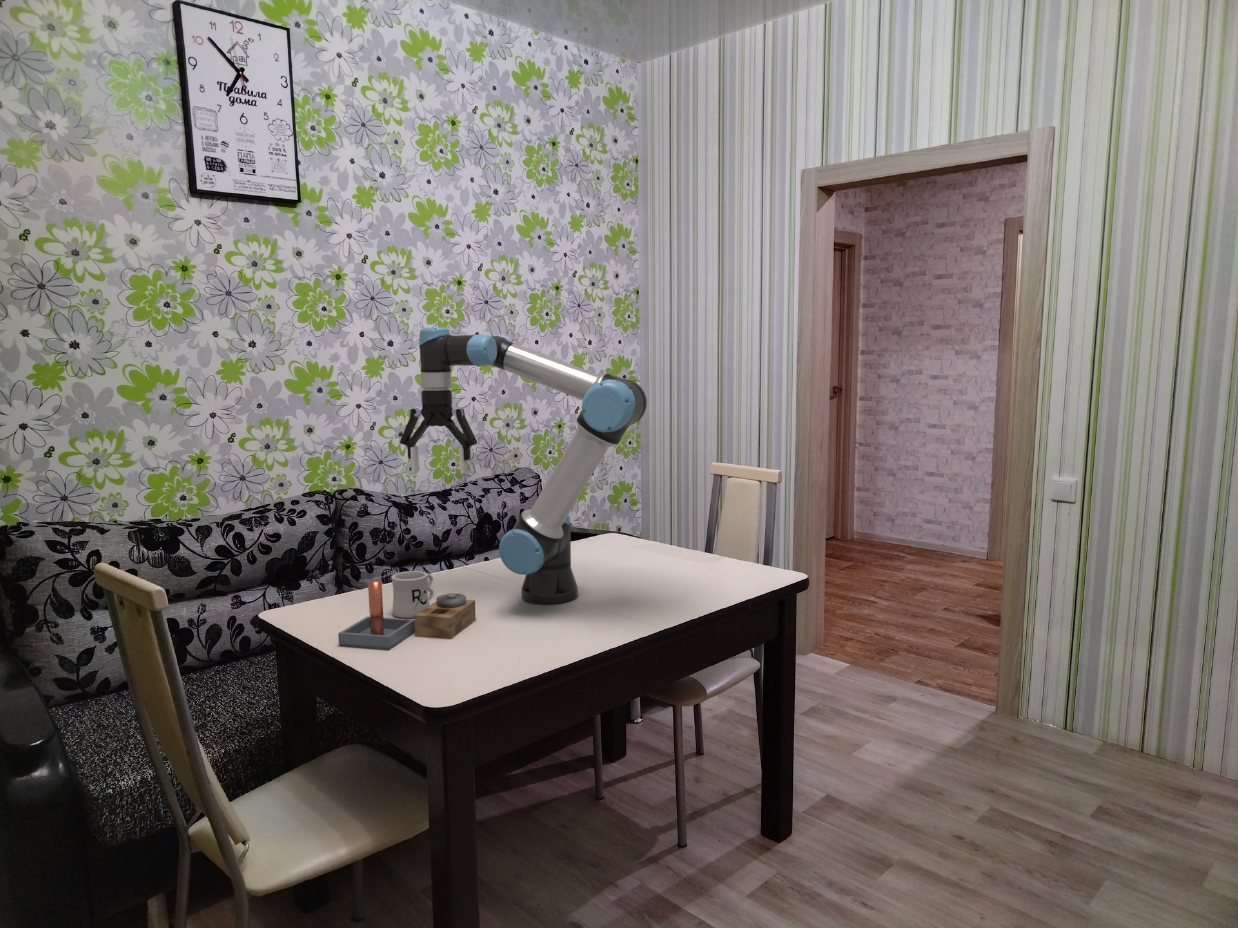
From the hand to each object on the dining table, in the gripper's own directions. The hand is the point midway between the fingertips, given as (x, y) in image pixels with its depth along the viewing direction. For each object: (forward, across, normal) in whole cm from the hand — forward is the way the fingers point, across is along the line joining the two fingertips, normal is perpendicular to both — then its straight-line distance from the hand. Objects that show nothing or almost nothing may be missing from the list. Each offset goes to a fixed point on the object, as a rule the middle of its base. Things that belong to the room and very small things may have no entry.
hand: (439, 472), depth 212 cm
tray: (+35, +3, +28) cm, 45 cm away
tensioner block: (+35, -9, +18) cm, 40 cm away
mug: (+35, +4, +8) cm, 36 cm away
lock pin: (+34, +3, +28) cm, 45 cm away
